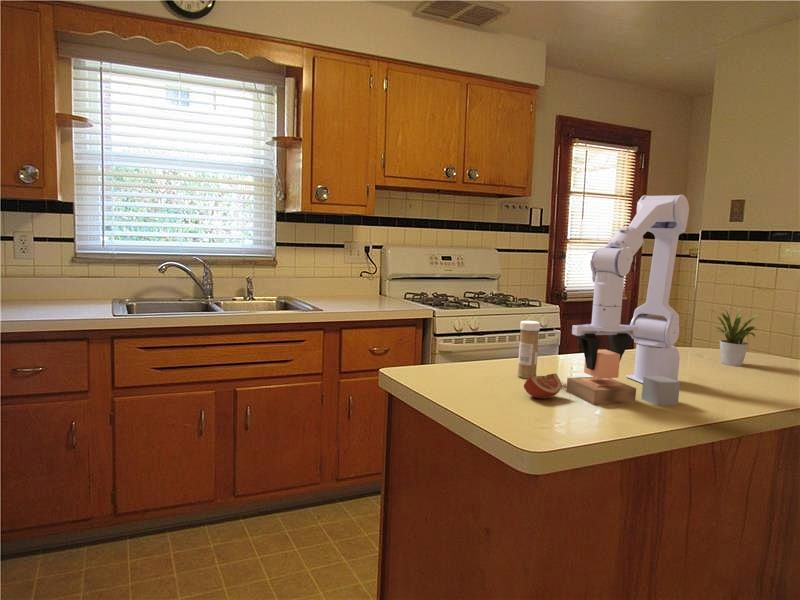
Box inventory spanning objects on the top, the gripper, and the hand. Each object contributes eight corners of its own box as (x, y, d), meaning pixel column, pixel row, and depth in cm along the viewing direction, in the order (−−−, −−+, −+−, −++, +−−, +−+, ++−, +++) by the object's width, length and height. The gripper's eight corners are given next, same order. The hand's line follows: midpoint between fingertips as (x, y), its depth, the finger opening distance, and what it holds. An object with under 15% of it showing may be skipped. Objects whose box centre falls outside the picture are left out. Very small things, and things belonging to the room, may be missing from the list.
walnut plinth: (605, 391, 132) (606, 375, 131) (634, 404, 122) (636, 386, 122) (566, 393, 129) (567, 376, 128) (593, 406, 119) (594, 388, 119)
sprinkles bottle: (540, 378, 140) (544, 322, 139) (526, 380, 138) (530, 323, 136) (526, 373, 144) (530, 319, 142) (512, 375, 141) (516, 320, 140)
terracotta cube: (604, 371, 128) (606, 349, 128) (618, 377, 123) (620, 354, 123) (583, 372, 127) (585, 349, 126) (597, 378, 122) (599, 354, 122)
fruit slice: (543, 391, 128) (545, 369, 128) (568, 399, 123) (570, 376, 122) (516, 396, 123) (518, 373, 123) (541, 405, 118) (543, 381, 117)
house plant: (694, 363, 164) (700, 305, 162) (701, 355, 175) (707, 301, 173) (753, 372, 156) (760, 311, 154) (757, 363, 167) (764, 306, 165)
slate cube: (661, 398, 127) (663, 375, 126) (677, 405, 122) (680, 381, 121) (641, 399, 125) (643, 376, 125) (657, 406, 121) (659, 382, 120)
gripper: (625, 302, 129) (620, 363, 131) (566, 302, 125) (561, 364, 127) (646, 307, 122) (640, 371, 124) (584, 306, 118) (579, 372, 120)
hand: (602, 368), depth 125 cm, fingers closed on terracotta cube, 5 cm apart
